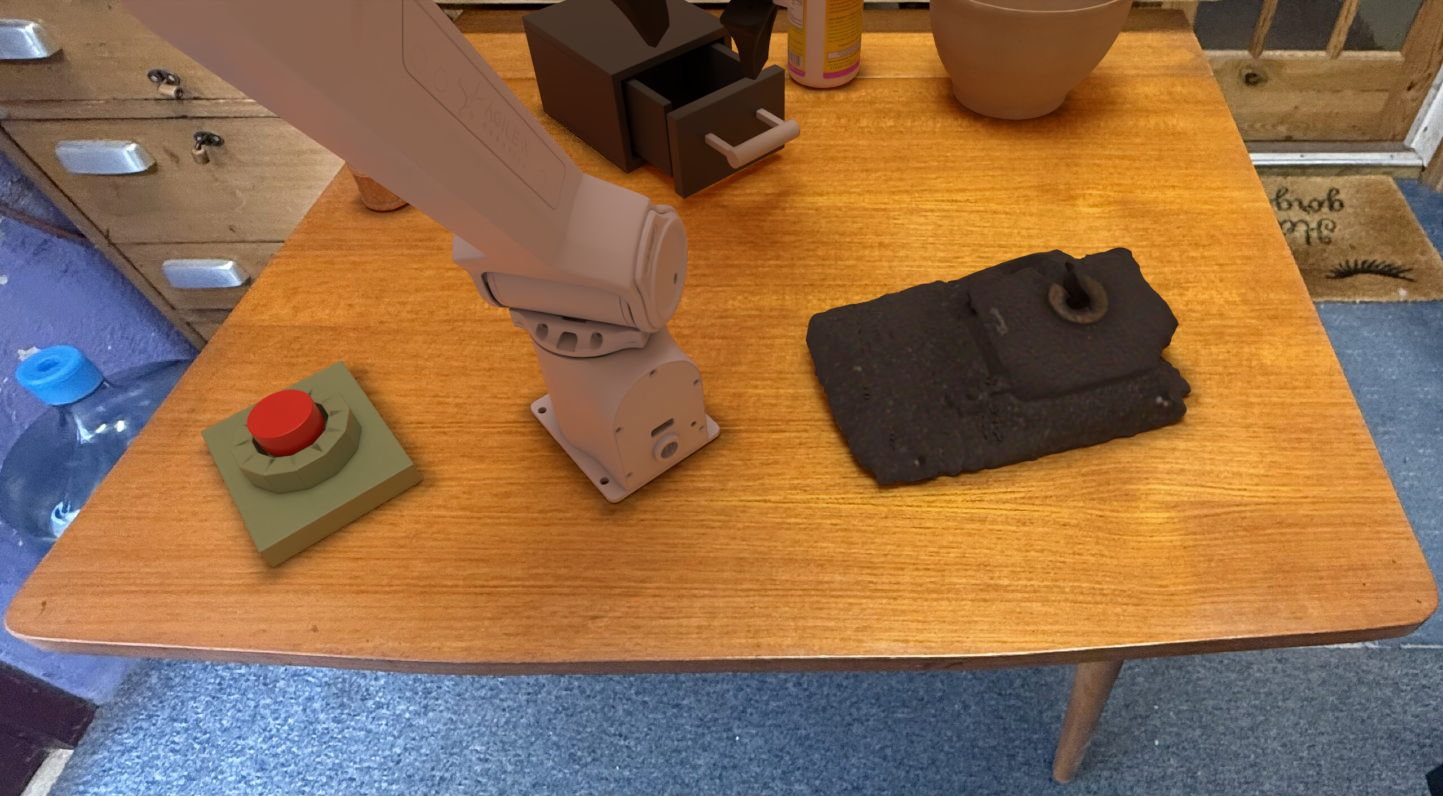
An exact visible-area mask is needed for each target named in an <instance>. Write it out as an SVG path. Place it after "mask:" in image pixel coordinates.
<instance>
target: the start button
mask: <svg viewBox="0 0 1443 796" xmlns="http://www.w3.org/2000/svg"><path fill="white" fill-rule="evenodd" d="M281 390H282V391H281ZM281 390H279V391H275V392H273V393H271V394H269V395H267V396H265V397H264V398H262V399H260V400H259V401H258V402H256V403H257V404H256V403H255V404H256V405H255V406H254V407H253V409H252V410H251V411H250V413H249V415H248V418H247V428H248V430H249V432H250V433H251V434H252V436H253V437H254V438H255V440H256V441H257V442H258V444H259V445H260V446H261V447H262V449H263V450H264V451H265V452H266V453H268V454H270V455H273V456H278V457H284V456H291V455H294V454H296V453H298V452H300V451H301V450H303V449H305V448H307V447H309V446H311V445H313V444H314V442H315V441H316V440H317V439H318V438H319V437H320V436H321V434H322V433H323V431H324V428H325V419H324V417H323V415H322V413H321V412H320V410H319V409H318V407H317V406H316V404H315V403H314V401H313V400H312V398H311V397H310V395H308V394H307V393H305V392H303V391H301V390H295V389H289V390H283V389H281Z"/></svg>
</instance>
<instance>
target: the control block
mask: <svg viewBox="0 0 1443 796" xmlns="http://www.w3.org/2000/svg"><path fill="white" fill-rule="evenodd" d="M289 389H295V390H301V391H303V392H305V393H307V394H308V395H310V397H311V398H312V400H313V401H314V403H315V404H316V406H317V407H318V409H319V410H320V412H321V413H322V415H323V417H324V419H325V428H324V431H323V433H322V434H321V436H320V437H319V438H318V439H317V440H316V441H315V442H314V444H313V445H311V446H309V447H307V448H305V449H303V450H301V451H300V452H298V453H296V454H294V455H291V456H284V457H278V456H273V455H270V454H268V453H266V452H265V451H264V450H263V449H262V447H261V446H260V445H259V444H258V442H257V441H256V440H255V438H254V437H253V436H252V434H251V433H250V432H249V430H248V428H247V418H248V415H249V413H250V411H251V410H252V409H253V407H254V406H255V405H256V404H257V403H258V402H256V403H254V404H252V405H249V406H247V407H246V408H244V409H242V410H239V411H238V412H236V413H234V414H231V415H230V416H228V417H226V418H224V419H222V420H220V421H219V422H215V423H214V424H212V425H210V426H208V427H207V428H204V429H202V430H201V431H200V435H201V437H202V439H203V441H204V443H205V445H206V447H207V449H208V451H209V453H210V455H211V458H212V460H213V461H214V463H215V465H216V467H217V469H218V472H219V473H220V476H221V478H222V480H223V482H224V484H225V486H226V488H227V491H228V492H229V494H230V496H231V499H232V500H233V503H234V504H235V506H236V508H237V511H238V513H239V516H240V517H241V519H242V521H243V522H244V525H245V527H246V529H247V532H248V533H249V536H250V538H251V540H252V541H253V544H254V546H255V548H256V550H257V552H258V553H259V554H260V556H261V557H262V558H263V559H264V560H265V561H266V562H267V564H269V566H270V567H272V568H276V567H278V566H279V565H281V564H282V563H284V562H286V561H287V560H289V559H291V558H293V557H294V556H296V555H298V554H300V553H301V552H303V551H304V550H306V549H308V548H310V547H311V546H313V545H315V544H316V543H318V542H320V541H322V540H323V539H325V538H327V537H328V536H330V535H332V534H334V533H335V532H338V531H339V530H340V529H342V528H344V527H346V526H347V525H349V524H351V523H353V522H354V521H356V520H357V519H359V518H361V517H362V516H364V515H366V514H368V513H369V512H371V511H373V510H375V509H376V508H379V506H382V505H383V504H385V503H386V502H388V501H389V500H391V499H393V498H395V497H396V496H398V495H400V494H402V493H404V492H405V491H407V490H409V489H410V488H412V487H414V486H415V485H418V483H421V482H422V481H423V477H422V475H421V474H420V472H419V470H418V469H417V467H416V465H415V463H414V462H413V460H412V458H411V457H410V456H409V454H408V453H407V451H406V450H405V449H404V447H403V446H402V444H401V442H400V441H399V440H398V439H397V437H396V436H395V435H394V433H393V431H392V430H391V428H390V427H389V426H388V424H387V423H386V421H385V420H384V419H383V417H382V416H381V414H380V413H379V411H378V410H377V409H376V407H375V406H374V405H373V404H374V403H372V401H371V400H370V398H369V397H368V396H367V394H366V393H365V391H364V390H363V388H362V387H361V385H360V384H359V382H358V381H357V380H356V378H355V376H353V374H352V373H351V371H350V370H349V368H348V367H347V365H346V364H345V362H344V361H343V360H338V361H337V362H335V363H333V364H331V365H329V366H327V367H325V368H323V369H321V370H318V371H316V372H315V373H313V374H311V375H309V376H307V377H305V378H303V379H301V380H299V381H297V382H295V383H293V384H292V385H289V386H288V387H285V388H284V389H281V390H280V391H282V390H289Z"/></svg>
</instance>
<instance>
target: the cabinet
mask: <svg viewBox="0 0 1443 796" xmlns="http://www.w3.org/2000/svg"><path fill="white" fill-rule="evenodd" d="M666 3H667V8H668V12H669V23H670V26H669V28H668V29H667V31H666V33H665V34H664V36H663V37H662V39H661V41H660V42H659V44H658V45H657V47H656V48H654V47H651V46H648V45H647V44H646V42H645V41H644V40H643V38H642V37H641V36H640V34H639V33H638V32H637V30H636V29H635V28H634V26H633V25H632V24H631V22H630V21H629V20H628V18H627V17H626V16H625V15H624V13H623V12H622V11H621V10H620V9H619V8H618V7H617V6H616V5H615V4H614V3H613V2H612V1H611V0H562V1H559V2H557V3H554V4H552V5H549V6H546V7H543V8H540V9H538V10H535V11H533V12H530V13H527V14H525V15H522V16H521V20H522V21H521V22H522V25H523V30H524V33H525V38H526V43H527V46H528V50H529V54H530V59H531V63H532V67H533V70H534V75H535V79H536V80H535V81H536V84H537V88H538V94H539V97H540V101H541V105H542V110H543V112H545V113H546V114H547V115H548V116H550V117H551V118H552V119H554V120H555V121H556V122H558V123H559V124H561V125H562V126H563V127H565V128H566V129H567V130H569V131H570V132H571V133H573V134H574V135H575V136H577V137H578V138H579V139H581V140H582V141H583V142H585V143H586V144H587V145H589V146H590V147H591V148H593V149H594V150H595V151H597V152H598V153H599V154H601V155H602V156H603V157H605V158H606V159H607V160H609V161H610V162H611V163H613V164H614V165H615V166H617V167H618V168H619V169H621V170H622V171H623V172H625V173H626V174H629V173H630V172H633V171H635V170H636V169H639V168H642V167H643V166H645V165H647V164H649V163H650V162H648V161H647V160H645V159H644V158H643V157H641V156H640V155H639V154H637V153H636V152H634V151H633V150H632V149H631V144H630V137H629V131H628V124H627V118H626V111H625V105H624V99H623V92H622V86H621V81H622V80H624V79H626V78H629V77H631V76H633V75H636V74H638V73H640V72H643V71H645V70H647V69H650V68H652V67H654V66H656V65H659V64H661V63H663V62H666V61H668V60H670V59H673V58H675V57H677V56H680V55H682V54H684V53H687V52H689V51H691V50H694V49H696V48H698V47H701V46H703V45H705V44H708V43H710V42H712V41H716V42H718V43H720V44H722V45H724V46H725V47H727V48H729V49H731V50H733V38H732V36H731V35H730V33H729V32H728V30H727V29H726V28H725V27H724V26H723V25H722V24H721V23H720V19H719V18H720V17H718V16H716V15H715V14H713V13H711V12H708V11H706V10H705V9H703V8H701V7H699V6H698V5H695V4H693V3H692V2H689V1H687V0H666Z"/></svg>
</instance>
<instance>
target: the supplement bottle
mask: <svg viewBox="0 0 1443 796" xmlns="http://www.w3.org/2000/svg"><path fill="white" fill-rule="evenodd" d="M864 4H865V0H793V1H792V2H791V4H790V6H789V7H787V11H786V12H787V15H786V16H787V17H786V18H787V19H786V20H787V22H786V25H787V29H786V31H787V33H786V34H787V39H786V40H787V49H786V50H787V70H788V73H789V76H790V77H791V78H792V79H793V80H794V81H795V82H797V83H799V84H800V85H803V86H807V87H811V88H816V89H817V88H819V89H829V88H835V87H839V86H843V85H846V84H848V83H849V82H850V81H851V80H853V79H854V78H855V77H856V76H857V74H858V73H859V70H860V65H861V64H860V63H861V50H862V35H863V21H864Z"/></svg>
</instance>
